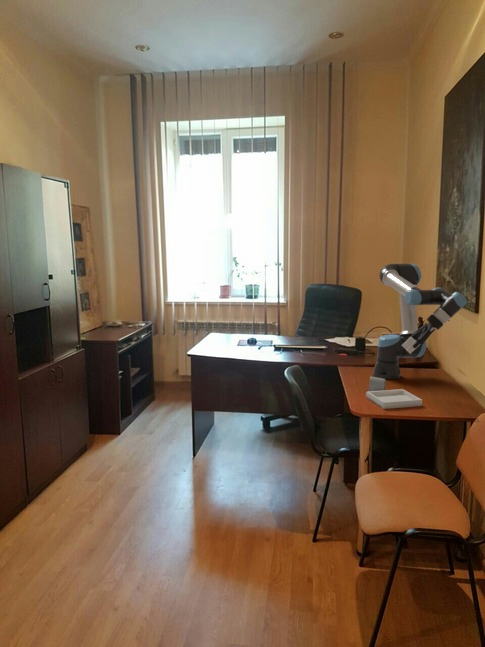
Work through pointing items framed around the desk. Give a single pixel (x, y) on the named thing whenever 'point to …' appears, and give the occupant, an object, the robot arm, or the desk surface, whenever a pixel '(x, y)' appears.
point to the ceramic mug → (377, 384)
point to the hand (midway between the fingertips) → (405, 349)
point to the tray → (393, 398)
